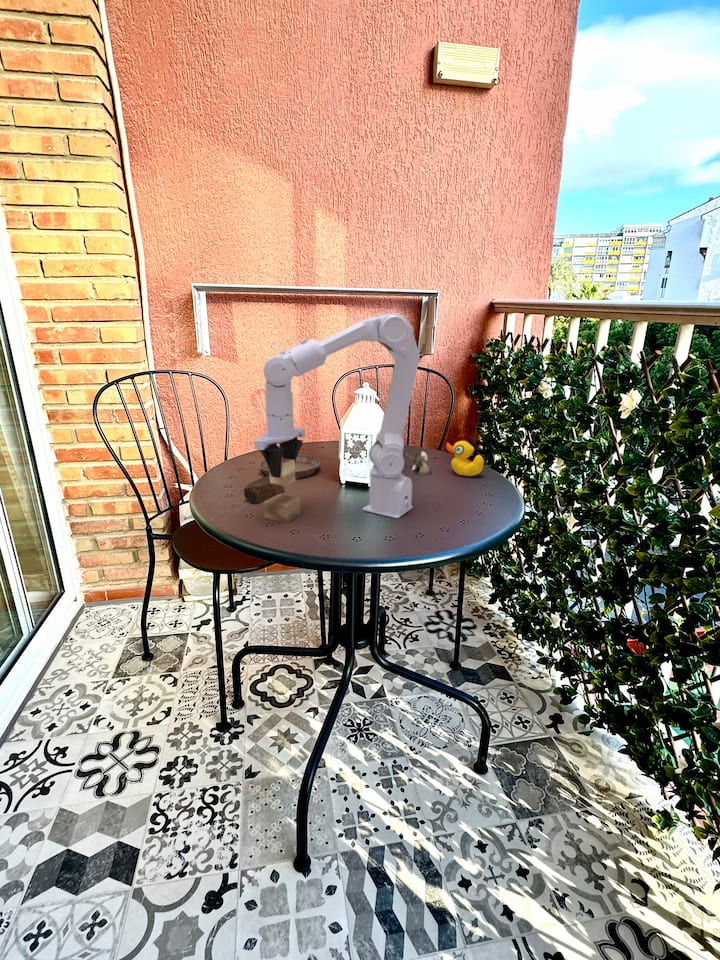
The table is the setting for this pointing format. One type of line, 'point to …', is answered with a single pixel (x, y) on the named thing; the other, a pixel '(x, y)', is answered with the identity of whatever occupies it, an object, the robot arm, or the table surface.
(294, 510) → the tan wooden block
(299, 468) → the plant saucer
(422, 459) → the eagle figurine
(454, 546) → the table surface
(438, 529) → the table surface
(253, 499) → the brick
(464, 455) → the duckling
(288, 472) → the beech block
